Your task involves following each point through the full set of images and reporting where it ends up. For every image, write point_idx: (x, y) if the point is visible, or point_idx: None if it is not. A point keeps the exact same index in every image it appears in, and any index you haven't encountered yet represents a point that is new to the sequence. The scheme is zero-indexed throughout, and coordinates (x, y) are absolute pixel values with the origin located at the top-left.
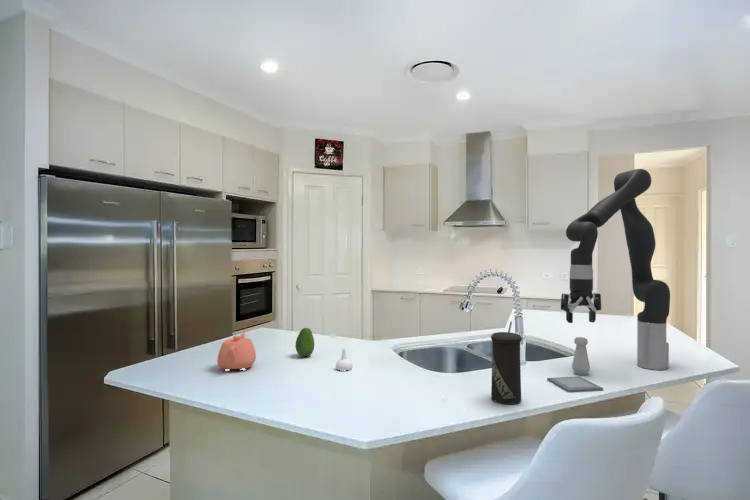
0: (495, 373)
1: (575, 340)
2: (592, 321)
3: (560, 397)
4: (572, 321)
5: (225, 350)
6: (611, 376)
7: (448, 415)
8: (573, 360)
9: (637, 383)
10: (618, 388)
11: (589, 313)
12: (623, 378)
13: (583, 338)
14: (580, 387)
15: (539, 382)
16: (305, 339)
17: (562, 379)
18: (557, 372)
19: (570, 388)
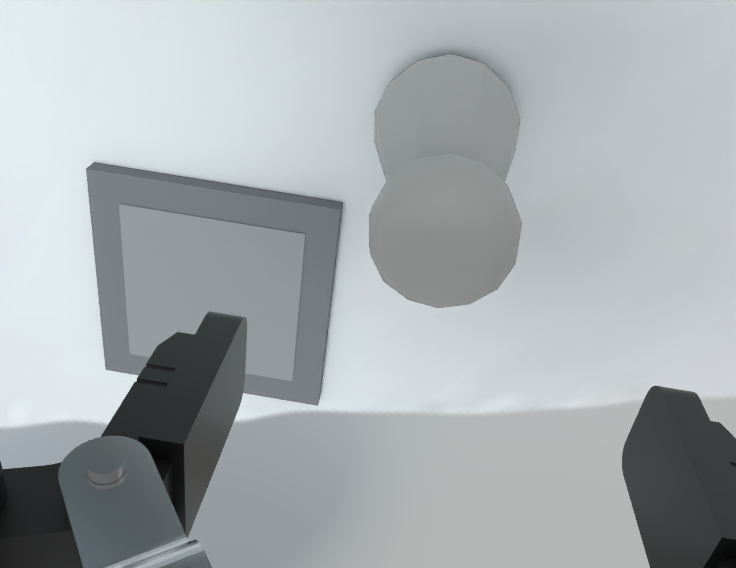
0: None
1: (370, 225)
2: (626, 463)
3: (37, 393)
4: (232, 412)
5: None
6: (617, 232)
7: None
8: (387, 117)
9: (632, 379)
10: (434, 398)
11: (702, 508)
12: (653, 289)
13: (445, 289)
14: None
15: (22, 182)
16: None
17: (171, 232)
18: (282, 19)
19: (130, 358)
